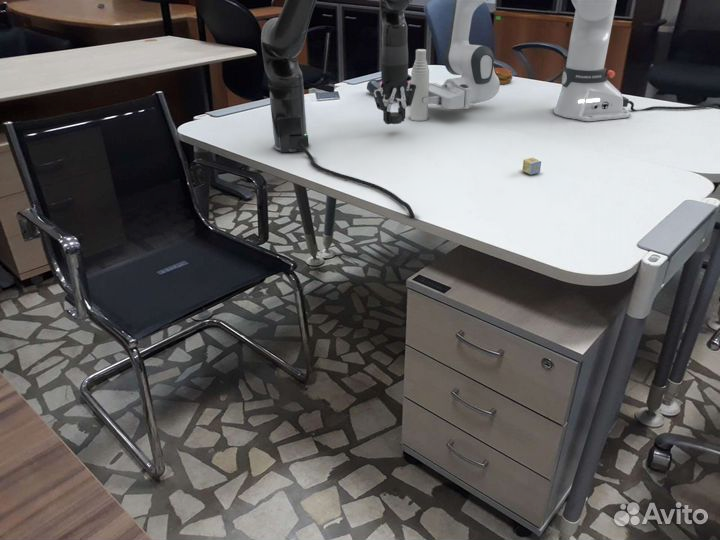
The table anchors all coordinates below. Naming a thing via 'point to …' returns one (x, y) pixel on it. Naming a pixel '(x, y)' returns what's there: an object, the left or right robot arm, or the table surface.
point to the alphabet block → (531, 166)
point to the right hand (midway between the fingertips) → (417, 98)
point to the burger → (503, 75)
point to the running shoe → (377, 84)
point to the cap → (396, 117)
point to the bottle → (420, 86)
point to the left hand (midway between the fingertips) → (394, 121)
